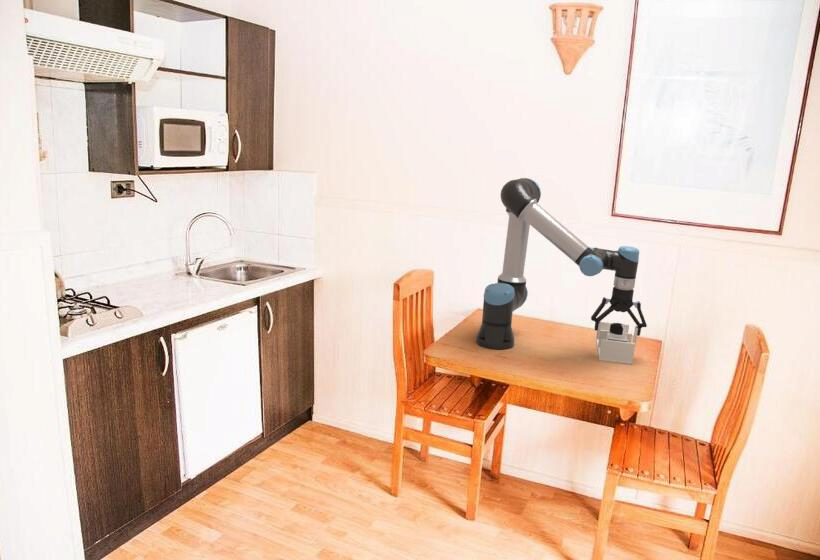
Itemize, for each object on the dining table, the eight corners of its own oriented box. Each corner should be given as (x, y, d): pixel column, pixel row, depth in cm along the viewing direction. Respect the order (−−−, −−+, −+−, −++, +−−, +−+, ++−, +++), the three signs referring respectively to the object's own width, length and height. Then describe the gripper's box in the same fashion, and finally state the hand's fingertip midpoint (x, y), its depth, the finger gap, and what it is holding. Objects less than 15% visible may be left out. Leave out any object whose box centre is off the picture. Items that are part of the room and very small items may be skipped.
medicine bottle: (605, 355, 238) (609, 326, 235) (604, 349, 244) (608, 320, 242) (625, 358, 236) (629, 328, 233) (623, 351, 243) (627, 322, 240)
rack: (599, 360, 236) (601, 340, 234) (596, 339, 259) (598, 321, 257) (632, 364, 233) (635, 344, 231) (626, 342, 257) (628, 324, 255)
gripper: (589, 286, 233) (582, 339, 238) (660, 294, 228) (651, 348, 233) (589, 281, 240) (582, 333, 246) (657, 289, 235) (648, 342, 240)
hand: (615, 341), depth 239 cm, fingers open, 13 cm apart
